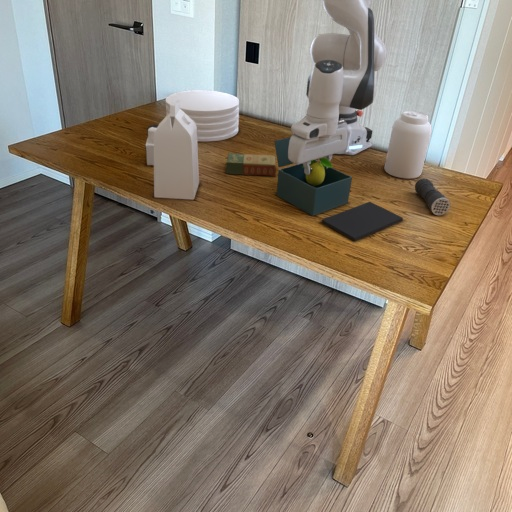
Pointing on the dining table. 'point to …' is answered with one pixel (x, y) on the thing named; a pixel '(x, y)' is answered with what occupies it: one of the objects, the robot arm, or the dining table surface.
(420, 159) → the white lidded jar
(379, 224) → the mat
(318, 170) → the lemon
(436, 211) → the flashlight
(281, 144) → the flap
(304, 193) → the box
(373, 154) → the dining table surface
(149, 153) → the medicine bottle
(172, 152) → the milk
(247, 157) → the carton
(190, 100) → the plate stack
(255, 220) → the dining table surface
